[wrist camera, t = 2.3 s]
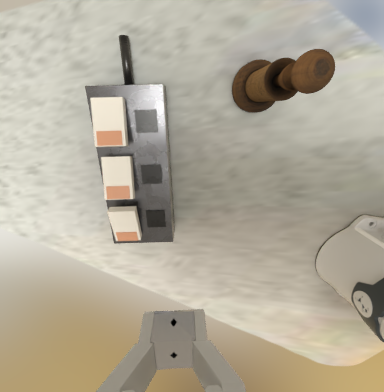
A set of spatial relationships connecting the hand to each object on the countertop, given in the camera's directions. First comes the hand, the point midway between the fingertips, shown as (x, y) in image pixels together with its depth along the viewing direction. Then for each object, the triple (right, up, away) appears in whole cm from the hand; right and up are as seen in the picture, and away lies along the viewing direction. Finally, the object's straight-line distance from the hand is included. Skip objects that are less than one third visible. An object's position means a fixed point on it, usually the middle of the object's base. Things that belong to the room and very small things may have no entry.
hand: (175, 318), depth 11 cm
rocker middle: (-10, +9, +20) cm, 24 cm away
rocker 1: (-10, +16, +18) cm, 26 cm away
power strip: (-8, +14, +25) cm, 29 cm away
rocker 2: (-9, +2, +23) cm, 25 cm away
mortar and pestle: (+10, +22, +22) cm, 33 cm away
